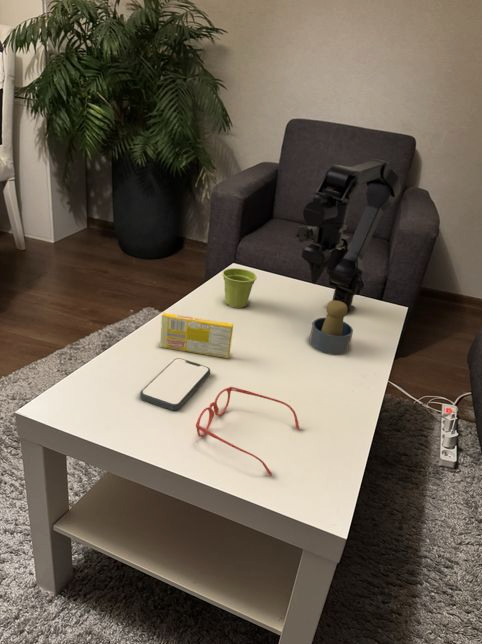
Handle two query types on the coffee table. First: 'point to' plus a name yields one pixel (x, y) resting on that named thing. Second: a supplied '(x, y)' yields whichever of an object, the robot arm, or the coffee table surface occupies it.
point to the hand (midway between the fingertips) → (321, 278)
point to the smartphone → (175, 384)
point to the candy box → (196, 335)
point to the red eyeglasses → (216, 409)
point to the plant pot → (238, 286)
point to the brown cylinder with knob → (334, 318)
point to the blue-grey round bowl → (330, 338)
